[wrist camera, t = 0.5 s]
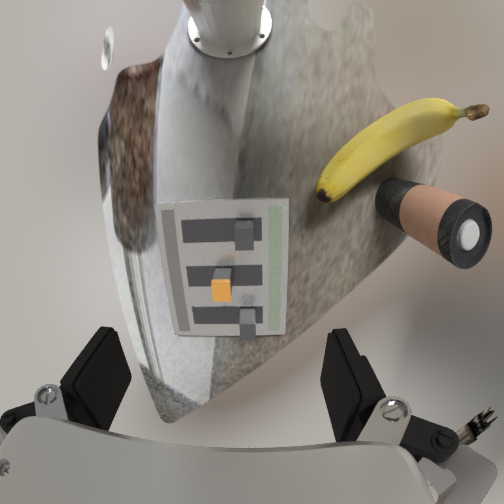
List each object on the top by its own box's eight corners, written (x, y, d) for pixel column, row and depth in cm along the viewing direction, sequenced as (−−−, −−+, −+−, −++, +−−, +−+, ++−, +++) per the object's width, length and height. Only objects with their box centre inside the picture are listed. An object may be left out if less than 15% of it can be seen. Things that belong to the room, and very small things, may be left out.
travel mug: (384, 229, 43) (456, 283, 24) (366, 191, 40) (441, 226, 22) (417, 207, 41) (496, 247, 22) (401, 168, 39) (485, 190, 20)
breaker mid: (215, 267, 43) (211, 282, 38) (231, 267, 43) (229, 282, 38) (216, 285, 44) (213, 301, 39) (232, 285, 44) (231, 301, 39)
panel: (157, 202, 41) (154, 204, 39) (287, 197, 41) (289, 198, 39) (177, 330, 49) (175, 335, 48) (284, 329, 49) (285, 334, 48)
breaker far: (240, 308, 46) (239, 324, 41) (255, 308, 46) (255, 324, 41) (240, 323, 47) (240, 339, 42) (255, 322, 47) (256, 339, 42)
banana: (321, 206, 41) (374, 254, 23) (297, 177, 40) (338, 203, 21) (417, 125, 36) (503, 126, 17) (398, 97, 34) (481, 79, 16)
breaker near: (235, 220, 40) (234, 229, 36) (253, 220, 40) (253, 228, 36) (236, 239, 41) (235, 250, 37) (253, 239, 41) (254, 250, 37)
